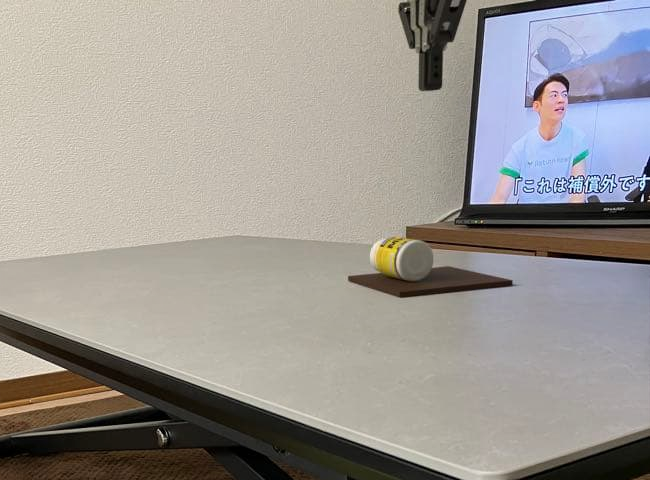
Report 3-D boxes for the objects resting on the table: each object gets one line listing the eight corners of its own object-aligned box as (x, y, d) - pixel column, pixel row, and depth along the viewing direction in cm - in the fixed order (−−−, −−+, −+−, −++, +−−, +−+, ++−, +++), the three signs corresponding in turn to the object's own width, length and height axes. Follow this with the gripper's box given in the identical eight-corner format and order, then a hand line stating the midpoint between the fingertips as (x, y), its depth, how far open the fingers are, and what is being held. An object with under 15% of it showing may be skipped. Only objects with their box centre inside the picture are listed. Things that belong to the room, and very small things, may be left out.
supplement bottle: (397, 243, 104) (364, 239, 111) (400, 285, 106) (367, 278, 113) (434, 236, 105) (399, 233, 112) (435, 278, 107) (401, 271, 114)
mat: (448, 270, 118) (448, 266, 118) (512, 285, 104) (512, 280, 103) (347, 280, 115) (347, 276, 115) (399, 297, 100) (399, 291, 100)
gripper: (498, -112, 89) (490, 84, 96) (438, -80, 101) (434, 93, 107) (428, -112, 87) (425, 87, 94) (375, -79, 99) (375, 96, 106)
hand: (430, 90), depth 101 cm, fingers closed
